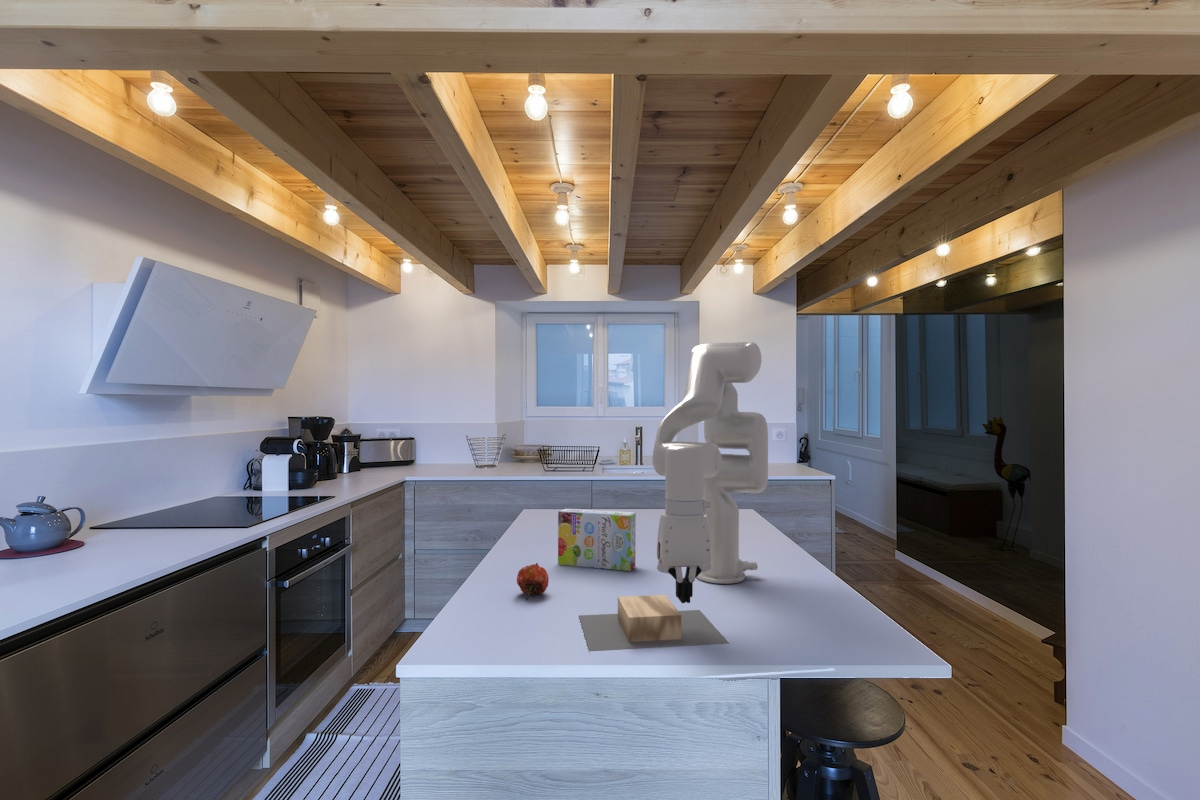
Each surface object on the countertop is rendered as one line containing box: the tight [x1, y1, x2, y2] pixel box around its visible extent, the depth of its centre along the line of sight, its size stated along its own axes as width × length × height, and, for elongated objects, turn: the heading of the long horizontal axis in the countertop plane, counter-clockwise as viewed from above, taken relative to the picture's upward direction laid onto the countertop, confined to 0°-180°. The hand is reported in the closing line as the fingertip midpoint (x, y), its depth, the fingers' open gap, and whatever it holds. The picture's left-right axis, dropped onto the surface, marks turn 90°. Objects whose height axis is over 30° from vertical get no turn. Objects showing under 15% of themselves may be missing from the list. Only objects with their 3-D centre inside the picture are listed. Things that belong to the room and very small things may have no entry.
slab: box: [617, 594, 681, 642], centre depth 117 cm, size 4×12×10 cm
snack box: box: [557, 508, 637, 572], centre depth 164 cm, size 21×6×15 cm, turn 71°
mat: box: [578, 609, 730, 652], centre depth 117 cm, size 26×18×1 cm
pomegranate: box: [516, 562, 549, 601], centre depth 138 cm, size 7×7×10 cm
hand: (684, 600), depth 118 cm, fingers closed
